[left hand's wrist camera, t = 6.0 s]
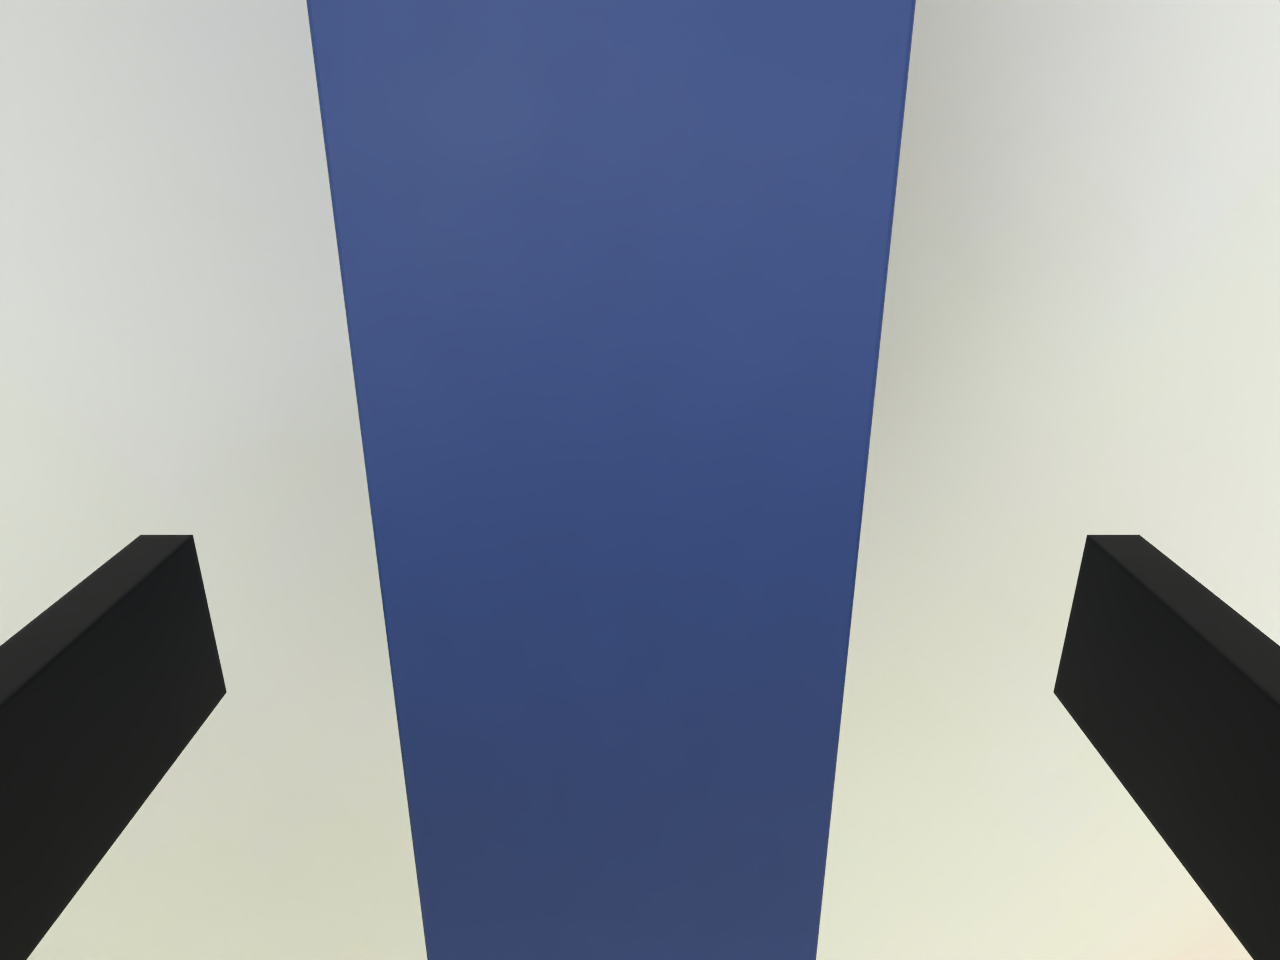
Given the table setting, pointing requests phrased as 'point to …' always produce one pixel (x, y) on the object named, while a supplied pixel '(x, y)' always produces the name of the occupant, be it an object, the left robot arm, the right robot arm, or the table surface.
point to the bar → (616, 444)
